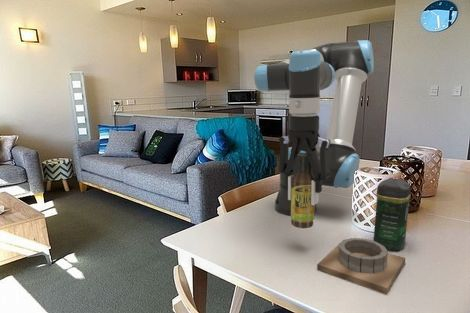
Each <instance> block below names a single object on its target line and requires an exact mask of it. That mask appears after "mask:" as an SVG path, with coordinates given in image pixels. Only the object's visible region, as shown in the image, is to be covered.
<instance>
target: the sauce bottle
mask: <svg viewBox="0 0 470 313" xmlns="http://www.w3.org/2000/svg"><path fill="white" fill-rule="evenodd" d="M311 170H312V168H311V165H310V161H309V158H308V156H307V154H306V153H298V154H297V172H296V173H295V174H294V176H293V179H292V192H291V215H290V218H291V220H290V224H291V225H292V226H293V227H295V228H298V229H310V228H312V227H313V225H314V220H315V212H314V206H315V205H311V185H312V180H314V176H313V174H312V172H311Z"/></svg>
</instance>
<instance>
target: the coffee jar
mask: <svg viewBox="0 0 470 313" xmlns="http://www.w3.org/2000/svg"><path fill="white" fill-rule="evenodd" d="M410 195H411V184H410V183H408V182H407V181H406V180H405V179H400V178H394V177H389V178H387V179H384V180H382V181H380V183H378V185H377V191H376V204H375V206H376V207H375V219H374V230H373V240H372V241H375V242H377V243H379V244H381V245H383V246H384V247H385V248H386V250H387V251H400V250H402V249H403V247H404V246H405V245H406V238H407V236H406V235H407V225H408V216H409V208H410Z"/></svg>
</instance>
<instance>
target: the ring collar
mask: <svg viewBox="0 0 470 313" xmlns="http://www.w3.org/2000/svg"><path fill="white" fill-rule="evenodd" d="M388 251H389V250H387V249H386V248H385V247H384V246H383V245H381V244H379V243H377V242H375V241H373V240H371V239H368V238H360V237H351V238H350V237H349V238H345V239H343V240H342V241H340V242H339V243H338V244H337V245H336V246H335V247H334V248H333V249H332V250H331V251H330V252H329V253H328V254H326V256H325V257H323V258H322V259H321V260H320V261H319V262H318V263H317V264H316V270H317V271H319V272H322V273H324V274H327V275H330V276H333V277H336V278H339V279H342V280H345V281H346V282H350V283H353V284H356V285H358V286H362V287H365V288H367V289H370V290H372V291H373V290H374V291H376V292H379V293H382V294H384V295H388V293H389V292H390V289H391V288H392V287H393V285H394V283H395V282H396V280H397V278H398V276H399V275H400V273H401V271H402V270H403V268H404V266H405V264H406V257H403V256H401V255H396V254H392V253H389V252H388Z"/></svg>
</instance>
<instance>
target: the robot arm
mask: <svg viewBox="0 0 470 313" xmlns="http://www.w3.org/2000/svg"><path fill="white" fill-rule="evenodd" d="M374 64H375V60H374V50H373V44H372V42H371V41H370V40H366V39H365V40H363V39H362V40H359V39H357V40H353V41H341V42H340V41H339V42H333V43H332V42H329V43H325V44H320V45H319V46H318V45H317V46H315V47H313V48H309V49H307V50H296V51H293V52H291V54H290V55H289V59H286V60H283V61H280V62H277V63H273V64H265V65H259V66H257V67H256V69H255V70H254V76H253V78H254V79H253V80H254V85H255V87H256V89H258V90H259V91H262V92H273V91H274V92H275V91H277V92H278V91H280V92H281V91H288V92H289V94H288V95H289V96H288V97H289V98H288V99H289V100H288V104H289V105H288V106H289V107H288V112H289V114H291V115H289V117H288V128H289V133H288V135H284V136H281V137H279V138H278V141H279V146H280V148H279V163H278V164H279V165H278V168H279V169H278V172H279V190H278V193H277V195H276V198H275V202H274V208H275V211H277V212H278V213H280V214H284V215H287V216H291V192H292V179H293V176H294V174H295V173H296V172H297V154H298V153H306V154H307V156H308V158H309V161H310V165H311V168H312V170H311V172H312V174H313V176H314V180H312V185H311V205H315V206H314V213H316V212H317V206H318V203H319V194H320V193H321V192H322V191H323V186H325V187H334V188H335V189H338V188H339V189H340V188H341V189H342V188H343V189H347V188H350V187H352V186H353V184H354V183H355V181H354V174H355V171H357V170H358V171H359V168H360V163H361V162H360V161H361V159H360V156H359V154H357V152H356V151H357V150H356V148H355V147H354V145H353V140H354V133H355V127H356V122H357V114H358V109H359V102H360V95H361V91H362V90H361V89H362V84H363V83H364V82H366V80H367V79H368V75H370V74H373V73H374V69H375V68H374V67H375V66H374ZM335 81H336V84H335V88H334V89H335V90H334V95H333V101H332V107H331V113H330V118H329V123H328V129H327V135H326V139H324V138H322V137H321V136H320V133H319V131H320V116H319V115H318V114H319V113H320V108H321V107H320V104H321V102H320V100H321V98H320V95H321V94H320V93H321V91H323V90H325V89H326V90H327V88H329V87H331V85H333V83H334V82H335ZM290 143H291V146H290ZM317 145H318V147H319V150H317V147H316V146H317Z"/></svg>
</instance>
